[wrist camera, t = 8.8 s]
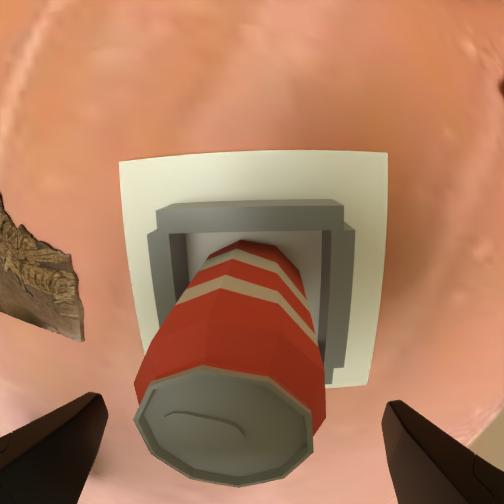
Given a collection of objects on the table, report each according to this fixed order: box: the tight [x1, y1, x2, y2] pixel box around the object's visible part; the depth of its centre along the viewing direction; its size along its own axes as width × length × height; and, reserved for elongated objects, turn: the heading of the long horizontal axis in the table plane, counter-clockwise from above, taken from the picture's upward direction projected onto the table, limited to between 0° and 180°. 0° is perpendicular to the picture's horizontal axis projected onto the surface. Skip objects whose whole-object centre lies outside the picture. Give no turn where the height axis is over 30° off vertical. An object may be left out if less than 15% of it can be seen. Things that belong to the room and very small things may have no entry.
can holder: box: [119, 150, 388, 388], centre depth 18 cm, size 16×16×4 cm
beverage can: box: [133, 240, 326, 487], centre depth 14 cm, size 6×6×12 cm
